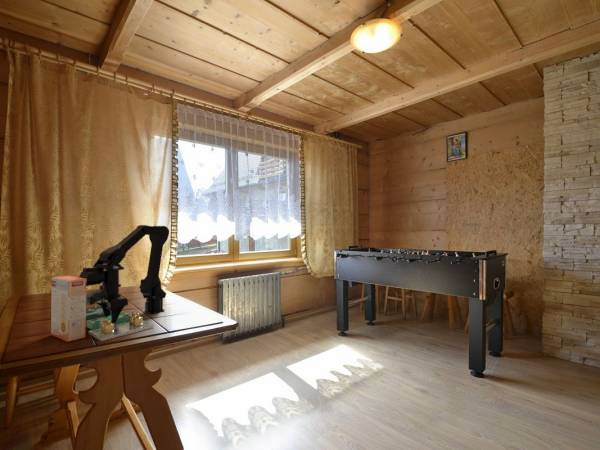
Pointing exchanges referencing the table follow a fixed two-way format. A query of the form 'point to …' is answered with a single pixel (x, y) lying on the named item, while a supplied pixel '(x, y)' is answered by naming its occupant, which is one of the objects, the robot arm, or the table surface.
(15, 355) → the table surface
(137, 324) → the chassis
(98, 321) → the board
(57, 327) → the cracker box
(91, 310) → the disk drive
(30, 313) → the table surface
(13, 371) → the table surface
